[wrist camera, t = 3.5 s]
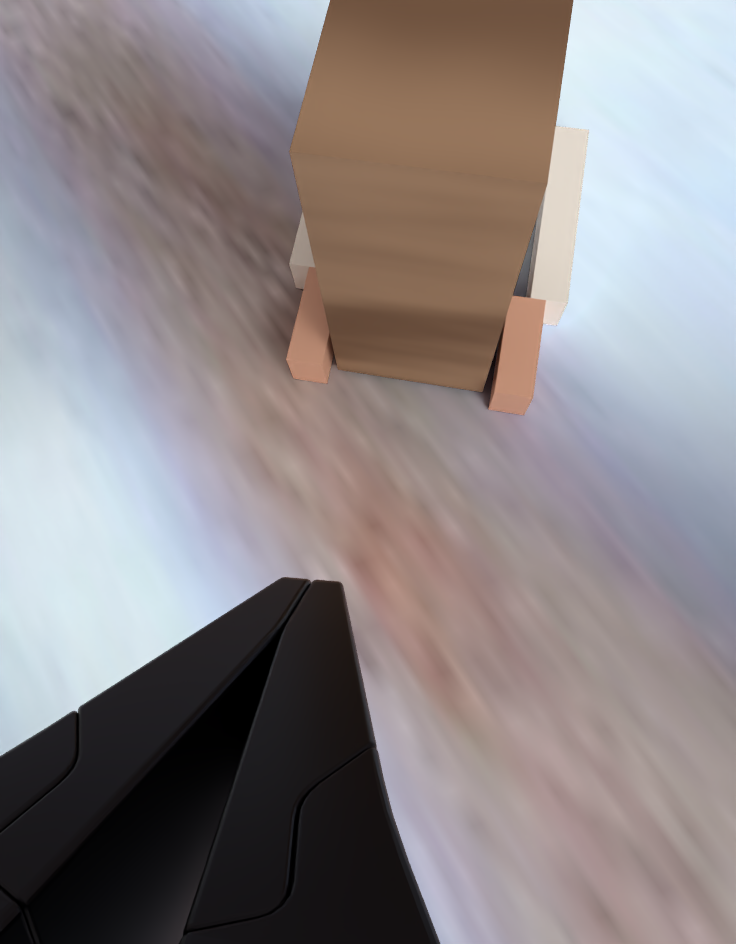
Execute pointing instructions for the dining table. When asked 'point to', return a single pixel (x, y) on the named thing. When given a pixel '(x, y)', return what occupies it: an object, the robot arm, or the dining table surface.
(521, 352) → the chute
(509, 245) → the block
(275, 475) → the dining table surface
